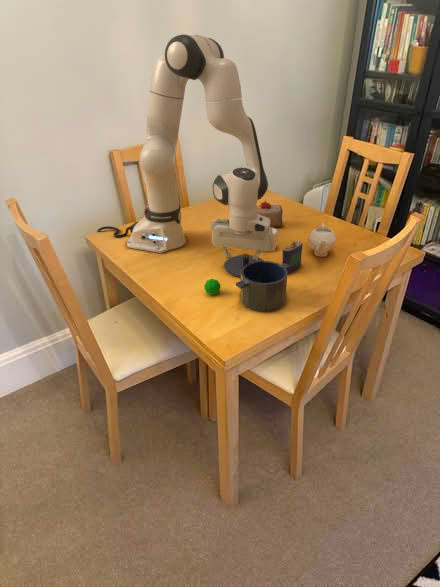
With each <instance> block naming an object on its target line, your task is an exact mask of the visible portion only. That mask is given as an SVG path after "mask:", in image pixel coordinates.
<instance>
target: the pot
mask: <svg viewBox="0 0 440 587" xmlns="http://www.w3.org/2000/svg"><path fill="white" fill-rule="evenodd" d="M290 267H291V266H290V265H288V264H286V263H284V264H282V263H281V264H280V263H278V262H274V261H271V260H264V261H256V262H251V263H249V264H246V265H245V266H244V267H243V268H242V270H241V277H240V280H239V281H237V282H235V286H236V287H237V288H238V289H240V301H241V304H242V305H243V306H244V307H245V308H247V309H249V310H251V311H255V312H260V313H261V312H262V313H266V312H267V313H269V312H274V311H276V310H279V309H281V308H282V307H283V306H284V305H285V303H286V300H287V284H288V275H289V274H288V271H287V270H289V269H290ZM287 274H288V275H287Z"/></svg>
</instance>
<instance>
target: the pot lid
mask: <svg viewBox="0 0 440 587" xmlns="http://www.w3.org/2000/svg"><path fill="white" fill-rule="evenodd" d="M253 256H254V255H251V254H247V253H243V254H238V255H234V256H231V257H230V259H229V258H226V260H225V261H224V263H223V269H224V270H225V272H226V273H227V274H230V275H232V276H235V277H239V278H241V270H242V268H243V267H244V266H245V265H246V264H249V263H251V262H256V261H253ZM258 261H265V260H264V259H263V258H261V257H259V256H258Z"/></svg>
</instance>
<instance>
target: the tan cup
mask: <svg viewBox="0 0 440 587" xmlns="http://www.w3.org/2000/svg"><path fill="white" fill-rule="evenodd" d="M271 229H272V232H273V247H272V249H271V250H270V251H269V252H274V251H276V249H277V245H278V239H279V238H278V237H279V233H280V232H279V229H278V228H277V227H271Z"/></svg>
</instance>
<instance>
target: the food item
mask: <svg viewBox="0 0 440 587" xmlns="http://www.w3.org/2000/svg"><path fill="white" fill-rule="evenodd" d="M256 209H257V214H259V215H262V216H264V217H267V218H269V219H270V227H272V228H283V211H284V210H283V207H282V205H281V204H271V203H270V202H267V200H264V201H263V202H261V203H260V205H256Z"/></svg>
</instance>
